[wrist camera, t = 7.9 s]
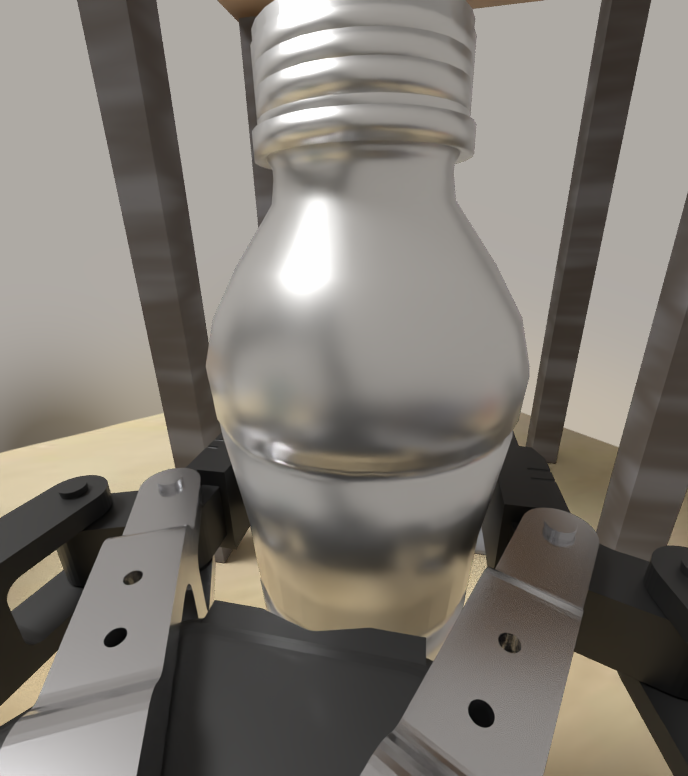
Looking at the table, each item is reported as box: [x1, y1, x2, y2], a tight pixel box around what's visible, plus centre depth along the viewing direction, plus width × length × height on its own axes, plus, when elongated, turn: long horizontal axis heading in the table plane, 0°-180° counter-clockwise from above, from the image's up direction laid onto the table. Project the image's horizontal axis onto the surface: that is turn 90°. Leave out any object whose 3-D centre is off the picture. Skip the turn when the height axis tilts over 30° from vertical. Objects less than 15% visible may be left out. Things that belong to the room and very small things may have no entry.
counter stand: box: [77, 0, 688, 563], centre depth 29 cm, size 22×30×40 cm
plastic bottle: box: [206, 0, 529, 661], centre depth 10 cm, size 6×7×20 cm
